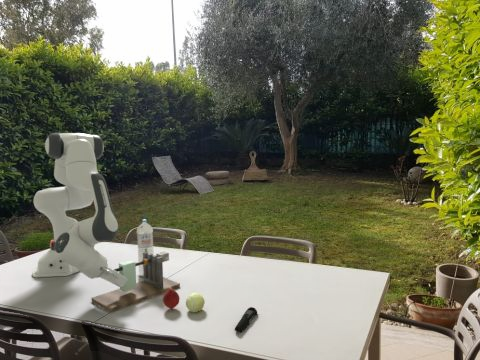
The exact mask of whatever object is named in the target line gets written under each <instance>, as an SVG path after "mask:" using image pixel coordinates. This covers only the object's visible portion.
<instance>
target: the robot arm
mask: <svg viewBox="0 0 480 360" xmlns="http://www.w3.org/2000/svg"><path fill="white" fill-rule="evenodd" d="M44 142H45V143H44V148H45V152H46V154H47V156H48V157H49V158H51V159H55V160H54V161H55V162H54V169H53V170H54V172H53V176H54V179H55V180H56V182H58V183H60V184H62V185H63V186H58V187H57V186H56V187H48V188H44V189H42V190H38V191H37V192H36V193H35V195H34V197H33V205H34V208H35V209H36V210H37V211H38V212H39V213H41V214H43V215H44V216H46V217H47V218H48V219H49V221H50V224H51V225H52V231H53V239H51V240H50V241H49V250H48V251H46V253H44V254H43V255H41V257H40V258H39V259H38V261H37V267H35V268H34V269H33V270H32V272H31V273H32V274H31V276H32V277H33V278H47V277H50V278H51V277H66V276H67V277H68V276H71V275H73V274H75V273H78V272H80V273H82V274H83V275H84V276H85V277H88V278H89V279H91V280H93V279H96V278H97V279H98V278H100V279H103V280H105V281H106V282H108V283H110V284H112V285H115V286H117V287H119V288H120V287H121V288H123V287H124V286H125V284H126V283H127V281H128V279H127V278H126V277H124V276H123V275H121V274H120V273H119V271H118V272H117V271H115V270H114V269H115V268H114V269H113V268H112V267H109V266H108V265H109V264H108V258H107V257H106V256H105V255H103V254H102V253H100V252H99V251H98V250H96V249H95V246H96V245H97V244H100V243H106V242H109V241H110V242H111V241H113V240H114V239H115V238H116V237H117V235H118V233H119V227H120V226H119V221H118V219H117V216H116V214H115V211H114V209H113V205H112V202H111V201H112V200H111V197H110V193H109V188H108V186H107V185H108V184H107V181H106V179H105V178H104V176H103V175H102V174H101V173H99V170H98V168H97V167H98V166H97V160H99V159H100V158H101V157H102V156H103V153H104V149H105V148H104V147H105V146H104V142H103V139H102V137H100V136H99V135H95V134H88V133H81V132H74V133H73V132H64V133H62V132H61V133H59V132H54V133H50V134H49V135H47V138H46V140H45V141H44ZM92 203H93V205H94V208H95V209H94V210H95V213H94V215H93V216H90V217H89V218H86V219H82V220H80V221H78V220H77V219H75V218H73V217H70V216H67V213H66V212H67V211H72V210H73V211H74V210H79V209H80V210H81V209H83V208H86V207H89V206H91V205H92Z"/></svg>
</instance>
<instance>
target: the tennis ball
mask: <svg viewBox="0 0 480 360" xmlns="http://www.w3.org/2000/svg"><path fill="white" fill-rule="evenodd" d="M185 306H186V308H187V310H188V311H190V312H191V313H194V312H196V313H199V312H200V311H201V310H203V308H204V306H205V298H204V297H203V296H202V295H201V294H200V293H198V292H193V293H190V294H189V295H188V296H187V297H186V300H185ZM198 311H199V312H198Z"/></svg>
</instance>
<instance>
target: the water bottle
mask: <svg viewBox="0 0 480 360" xmlns="http://www.w3.org/2000/svg"><path fill="white" fill-rule="evenodd" d="M141 221H142V223H141V224H140V225H138V227H137V228H136V234H137V237H136V238H137V260H138V261H137V263H138V262H141V261H142V260H143V253H144V252H148V254H150V253H151V254H153V255H155V253H154V251H155V250H154V237H153V236H154V235H153V233H154V229H153V227H152V225H151V224H149V223H147V221H148V220H147V219H145V218H144V219H142V220H141ZM138 275H139V276H140V277H142V278H144V271H143V264H142V265H139V266H138Z"/></svg>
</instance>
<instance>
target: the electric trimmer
mask: <svg viewBox="0 0 480 360" xmlns="http://www.w3.org/2000/svg"><path fill="white" fill-rule="evenodd" d="M254 316H258V310H257V308H255V307H252V306H251V307H248V308H247V309H246V310H245V312H244V314H243V315H241V319H240V320H239V322H238V323H237V324H236V325H235V327H234V331H235V332H239V331H240V332H239V333H241V332H243V331H244V330H245V329H247V328H248V327H249V326H250V324H251V321H252V319H253V317H254ZM248 325H249V326H248ZM247 326H248V327H247Z"/></svg>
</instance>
